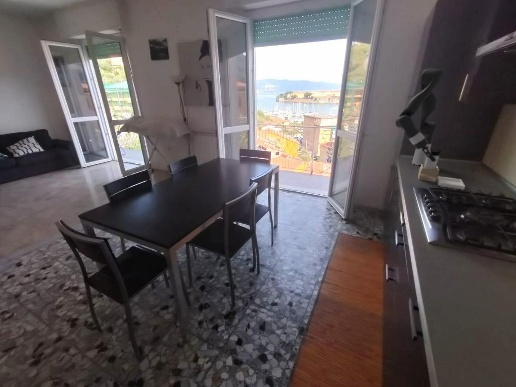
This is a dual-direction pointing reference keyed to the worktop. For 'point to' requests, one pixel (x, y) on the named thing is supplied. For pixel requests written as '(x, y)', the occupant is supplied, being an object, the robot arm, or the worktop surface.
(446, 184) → the tray
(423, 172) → the holder
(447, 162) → the worktop surface
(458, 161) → the worktop surface
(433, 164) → the travel mug
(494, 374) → the worktop surface
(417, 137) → the robot arm
